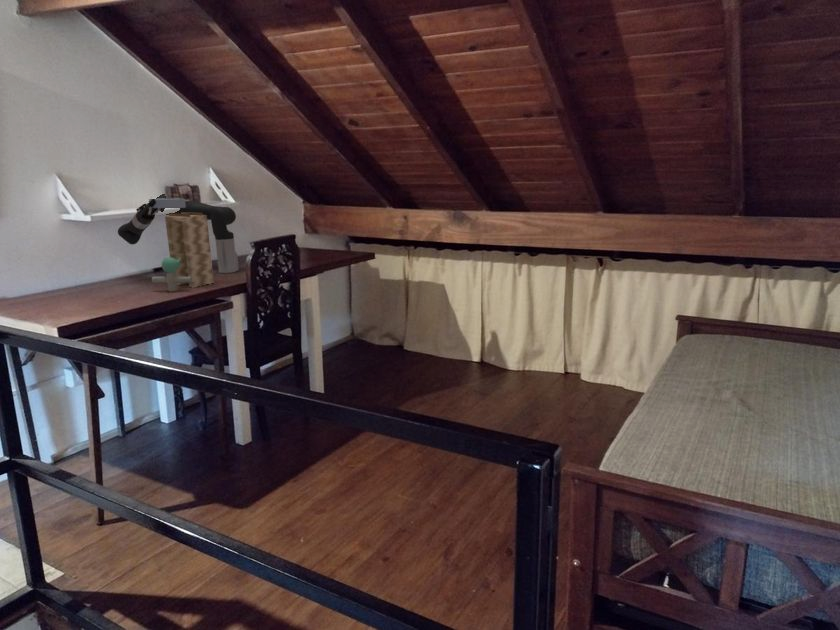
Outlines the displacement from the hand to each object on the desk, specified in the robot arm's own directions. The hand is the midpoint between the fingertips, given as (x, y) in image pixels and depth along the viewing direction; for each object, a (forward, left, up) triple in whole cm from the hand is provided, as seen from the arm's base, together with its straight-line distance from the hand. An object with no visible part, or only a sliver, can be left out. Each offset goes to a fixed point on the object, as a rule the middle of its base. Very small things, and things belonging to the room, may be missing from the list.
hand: (158, 200), depth 292 cm
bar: (0, +6, -3) cm, 7 cm away
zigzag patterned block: (-1, +17, -39) cm, 42 cm away
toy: (+13, +21, -39) cm, 46 cm away
